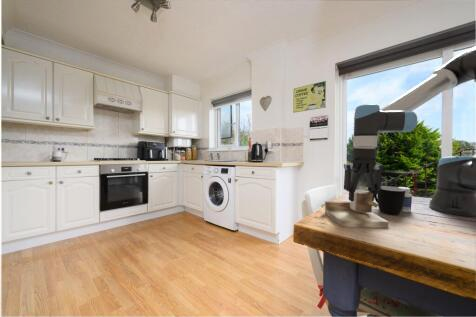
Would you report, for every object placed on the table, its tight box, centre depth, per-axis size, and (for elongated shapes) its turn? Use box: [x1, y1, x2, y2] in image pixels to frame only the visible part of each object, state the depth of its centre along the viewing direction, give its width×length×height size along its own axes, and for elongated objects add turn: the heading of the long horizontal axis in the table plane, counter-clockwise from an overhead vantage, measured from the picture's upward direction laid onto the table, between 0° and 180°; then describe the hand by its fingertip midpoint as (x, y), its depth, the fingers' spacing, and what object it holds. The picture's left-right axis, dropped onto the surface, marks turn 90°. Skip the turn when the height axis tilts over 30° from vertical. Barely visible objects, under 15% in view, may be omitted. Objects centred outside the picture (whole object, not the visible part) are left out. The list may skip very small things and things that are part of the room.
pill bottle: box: [397, 186, 413, 213], centre depth 85 cm, size 5×5×10 cm
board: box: [324, 200, 390, 228], centre depth 74 cm, size 16×13×5 cm
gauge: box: [355, 189, 379, 213], centre depth 73 cm, size 5×11×7 cm, turn 179°
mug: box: [374, 185, 405, 216], centre depth 84 cm, size 12×9×10 cm
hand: (360, 209), depth 76 cm, fingers closed on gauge, 5 cm apart
